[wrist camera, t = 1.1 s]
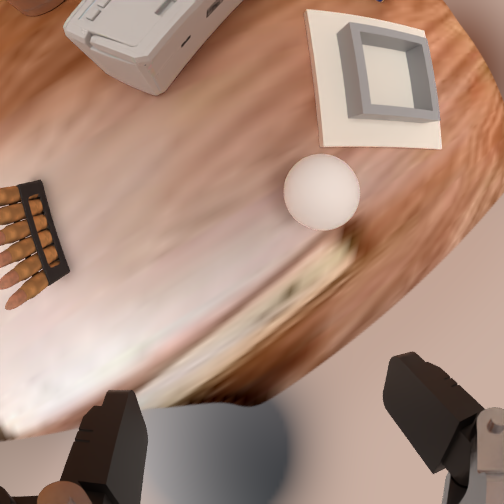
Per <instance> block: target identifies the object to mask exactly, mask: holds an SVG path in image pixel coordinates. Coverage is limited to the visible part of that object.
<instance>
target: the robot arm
mask: <svg viewBox="0 0 504 504" xmlns="http://www.w3.org/2000/svg"><path fill="white" fill-rule="evenodd" d="M6 1H8V2H9V3H10V4H11V5H13V6H14V7H15V8H16V9H18V10H19V11H20V12H21V13H23V14H25V15H27V16H37V15H40V14H44V13H46V12H48V11H50V10H52V9H53V8H55V7H57V6H58V5H59V4H61V3H62V2H63V1H64V0H6ZM383 402H384V406H385V408H386V410H387V411H388V413H389V414H390V415H391V417H392V418H393V419H394V421H395V422H396V424H397V425H398V426H399V428H400V429H401V430H402V432H403V433H404V435H405V436H406V437H407V439H408V440H409V441H410V443H411V444H412V446H413V447H414V448H415V450H416V451H417V453H418V454H419V455H420V457H421V458H422V459H423V461H424V462H425V464H426V465H427V466H428V468H429V469H430V470H431V472H432V473H433V474H434V473H437V472H439V471H441V470H443V469H445V468H446V469H447V470H448V474H447V476H446V480H445V487H444V494H443V500H442V504H504V409H502V408H496V407H494V408H488V409H484V408H483V407H482V406H481V405H480V404H479V403H478V402H477V401H476V400H475V399H474V398H473V397H472V396H471V395H469V394H468V393H467V392H466V391H465V390H464V389H463V388H462V387H461V386H460V385H457V383H456V382H455V381H454V380H453V379H452V378H451V379H450V376H449V375H448V374H447V373H445V371H443V370H442V369H441V368H440V367H438V366H435V365H433V364H431V363H429V362H425V361H424V360H423V359H422V358H421V357H420V356H419V355H417V354H416V353H415V352H409V353H405V354H401V355H397V356H394V357H392V358H391V359H390V361H389V366H388V371H387V376H386V382H385V386H384V390H383ZM147 445H148V435H147V429H146V425H145V422H144V419H143V416H142V413H141V410H140V407H139V404H138V401H137V398H136V395H135V393H134V391H133V390H109V391H108V392H107V393H106V396H105V399H104V402H103V404H102V406H93V407H92V408H91V409H90V411H89V412H88V413H87V414H86V415H85V416H84V417H83V419H82V422H81V424H80V427H79V431H78V432H77V435H76V438H75V442H74V443H73V445H72V448H71V451H70V453H69V456H68V459H67V462H66V464H65V467H64V471H63V473H62V476H61V479H60V481H57V482H54V483H51V484H49V485H47V486H46V487H44V488H43V490H42V491H41V492H40V493H39V495H38V496H24V497H11V496H10V495H9V494H8V493H7V491H6V490H5V489H4V488H2V487H1V486H0V504H140V500H141V491H142V483H143V475H144V467H145V459H146V452H147Z"/></svg>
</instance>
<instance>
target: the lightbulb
mask: <svg viewBox="0 0 504 504" xmlns="http://www.w3.org/2000/svg"><path fill="white" fill-rule="evenodd" d="M284 200H285V204H286V206H287V209H288V211H289V212H290V214H291V216H292V217H293V218H294V219H295V220H296V221H297V222H299V223H300V224H302V225H303V226H305V227H307V228H310V229H313V230H318V231H322V230H331V229H335V228H337V227H340V226H341V225H343V224H344V223H346V222H347V221H348V220H349V219H350V218H351V217H352V216H353V214H354V213H355V211H356V209H357V207H358V204H359V200H360V186H359V182H358V179H357V177H356V175H355V173H354V171H353V170H352V169H351V168H350V166H349V165H348V164H347V163H345V162H344V161H343V160H341V159H339V158H337V157H335V156H332V155H329V154H314V155H309V156H307V157H304V158H303V159H301V160H299V161H298V162H297V163H296V164H295V165H294V166H293V167H292V168H291V170H290V171H289V173H288V175H287V177H286V179H285V183H284Z"/></svg>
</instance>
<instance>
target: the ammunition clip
mask: <svg viewBox="0 0 504 504" xmlns="http://www.w3.org/2000/svg"><path fill="white" fill-rule="evenodd" d="M18 202H21V203H18ZM4 205H9V206H5V207H2V208H0V225H6V224H10V223H13V222H14V223H13V224H11V225H8V226H6V227H5V228H4V229H2V230H0V246H1V245H4V244H9V243H14V242H16V241H18V240H19V242H17V243H14V244H13V245H11V246H10V247H9V248H8V249H6V250H5V251H3V252H1V253H0V268H1V267H4V266H6V265H8V264H11V263H13V262H17V261H20V260H22V259H24V258H25V260H23V261H22V262H20V263H19V264H17V265H16V266H15V268H14V269H12V270H11V271H10V272H8V273H7V274H5V275H4V276H3V277H2V278H1V279H0V289H6V288H9V287H11V286H13V285H15V284H16V283H18V282H20V281H23V280H26V279H27V278H29V277H30V276H32V277H31V278H30V279H29V280H27V281H26V282H25V283H24V284H23V285H22V287H21V288H19V289H18V290H17V291H16V292H15V293H14V294H13V295H12V296H11V297H10V298H9V300H8V301H7V303H6V306H5V309H6V310H11V309H14V308H16V307H18V306H20V305H21V304H23V303H24V302H26V301H27V300H29V299H31V298H33V297H35V296H36V295H37V294H39V293H40V292H41V291H42V290H43V289H45V288H46V287H47V286H49V285H51V284H53V283H54V282H56V281H57V280H59V279H60V278H62V277H63V276H65V275H66V274H68V273H69V272H70V270H69V267H68V264H67V262H66V259H65V256H64V253H63V250H62V248H61V245H60V242H59V239H58V236H57V232H56V229H55V226H54V223H53V220H52V216H51V213H50V209H49V206H48V202H47V199H46V195H45V191H44V187H43V183H42V181H41V180H38V181H33V182H28V183H24V184H19V185H17V186H11V187H5V188H0V206H4ZM22 219H25V220H22ZM20 220H22V221H20ZM30 235H32V236H30ZM28 236H30V237H28ZM25 237H27V238H25ZM35 252H37V253H36V254H34V255H32V256H31V254H33V253H35ZM42 268H43V270H41V269H42ZM39 270H41V271H40V272H38V271H39Z"/></svg>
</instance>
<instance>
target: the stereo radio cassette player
mask: <svg viewBox="0 0 504 504" xmlns="http://www.w3.org/2000/svg"><path fill="white" fill-rule="evenodd" d="M242 1H243V0H83V1H82V2H81V3H80V4H79V5H78V6H77V7H76V9H75V10H74V11H73V12H72V14H71V15H70V16H69V17H68V19H67V20H66V21H65V23H64V26H63V29H64V31H65V35H66V36H67V37H68V38H69V39H70V40H71V41H72V42H73V43H74V44H75V45H76V46H77V47H78V48H80V49H81V50H82V51H83V52H84V53H85V54H86V55H87V56H88V57H89V58H90V59H91V60H92V61H93V62H95V63H96V64H97V65H98V66H99V67H100V68H101V69H102V70H103V71H104V72H105V73H106V74H108V75H110V76H112V77H113V78H115V79H117V80H119V81H121V82H123V83H125V84H127V85H129V86H131V87H133V88H136V89H138V90H141V91H143V92H146V93H149V94H151V95H156V96H157V95H159V94H161V93H164V92H165V91H166V90H167V89H168V87H169V86H170V85H171V83H172V82H173V81H174V79H175V78H176V77H177V75H178V74H179V73H180V72H181V70H182V69H183V68H184V66H185V65H186V64H187V63H188V61H189V60H190V59H191V58H192V56H193V55H194V54H195V53H196V52H197V50H198V49H199V48H200V47H201V46H202V44H203V43H204V42H205V41H206V40H207V39H208V38H209V36H210V35H211V34H212V33H213V32H214V31H215V30H216V28H217V27H218V26H219V25H220V24H221V23H222V22H223V21H224V20H225V19H226V18H227V16H228V15H229V14H230V13H231V12H232V11H233V10H234V9H235V8H236V7H237V6H238V5H239V4H240V3H241V2H242Z"/></svg>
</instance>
